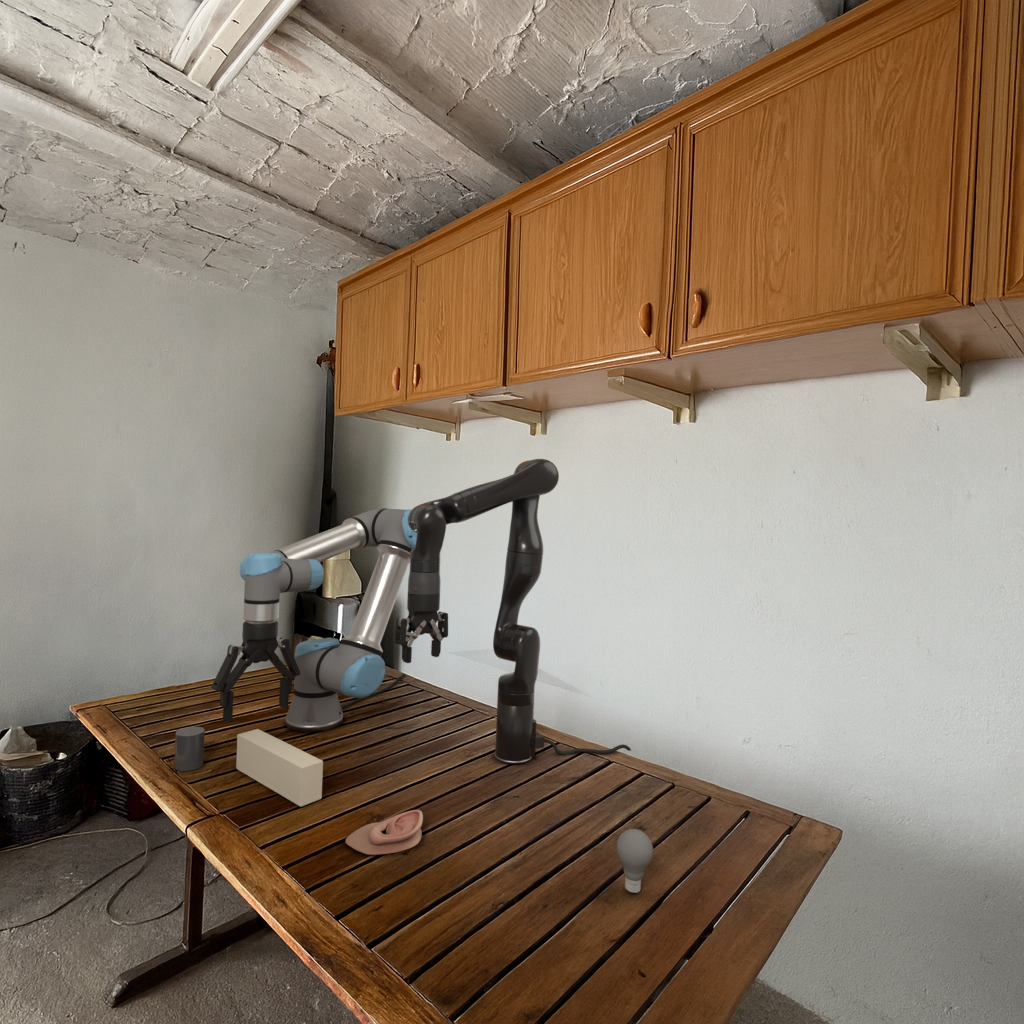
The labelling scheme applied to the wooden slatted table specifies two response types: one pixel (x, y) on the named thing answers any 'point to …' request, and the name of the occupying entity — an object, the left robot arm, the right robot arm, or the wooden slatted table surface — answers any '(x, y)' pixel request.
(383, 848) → the anatomical model
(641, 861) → the light bulb
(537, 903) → the wooden slatted table surface
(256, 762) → the plank
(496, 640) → the right robot arm
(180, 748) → the dark grey cylinder
